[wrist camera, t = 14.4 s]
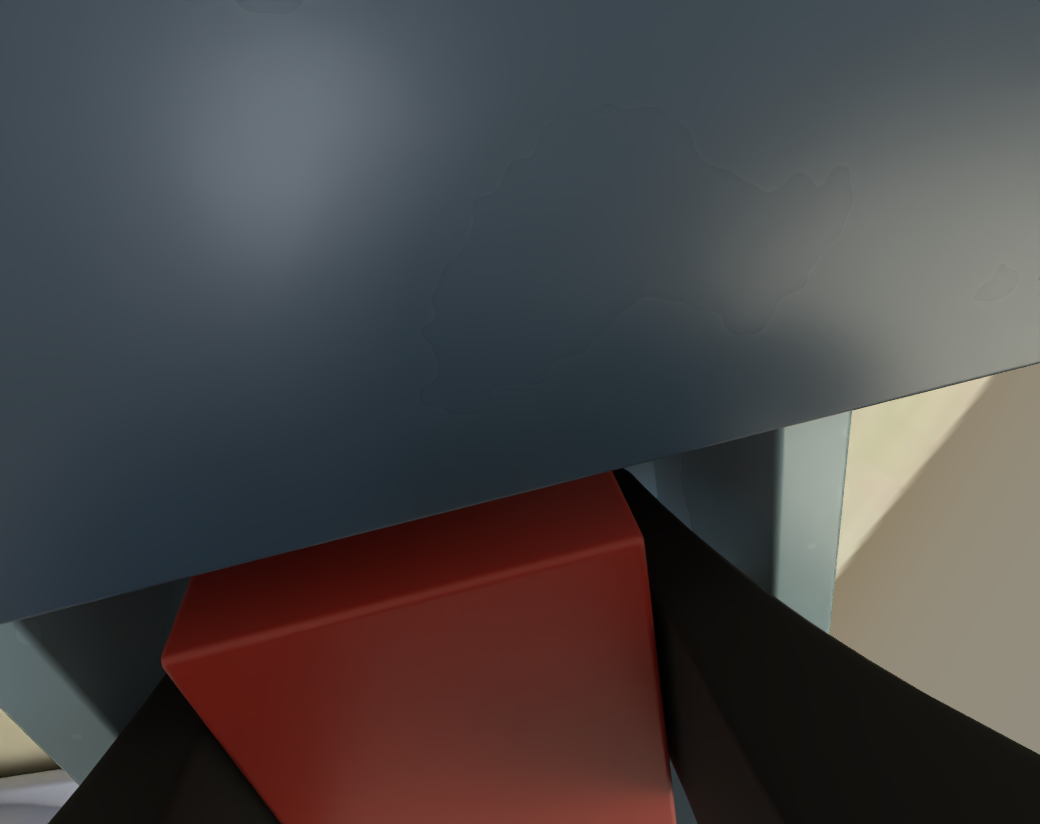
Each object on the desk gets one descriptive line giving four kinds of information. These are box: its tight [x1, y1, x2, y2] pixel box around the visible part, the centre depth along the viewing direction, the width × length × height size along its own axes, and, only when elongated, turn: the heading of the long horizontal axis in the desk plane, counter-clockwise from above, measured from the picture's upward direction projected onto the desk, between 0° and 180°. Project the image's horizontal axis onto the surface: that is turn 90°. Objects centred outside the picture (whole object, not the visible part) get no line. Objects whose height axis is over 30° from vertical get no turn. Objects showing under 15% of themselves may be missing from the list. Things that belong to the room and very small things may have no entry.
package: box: [161, 471, 677, 824], centre depth 9 cm, size 5×4×4 cm
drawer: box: [0, 411, 852, 824], centre depth 12 cm, size 16×10×6 cm, turn 11°
